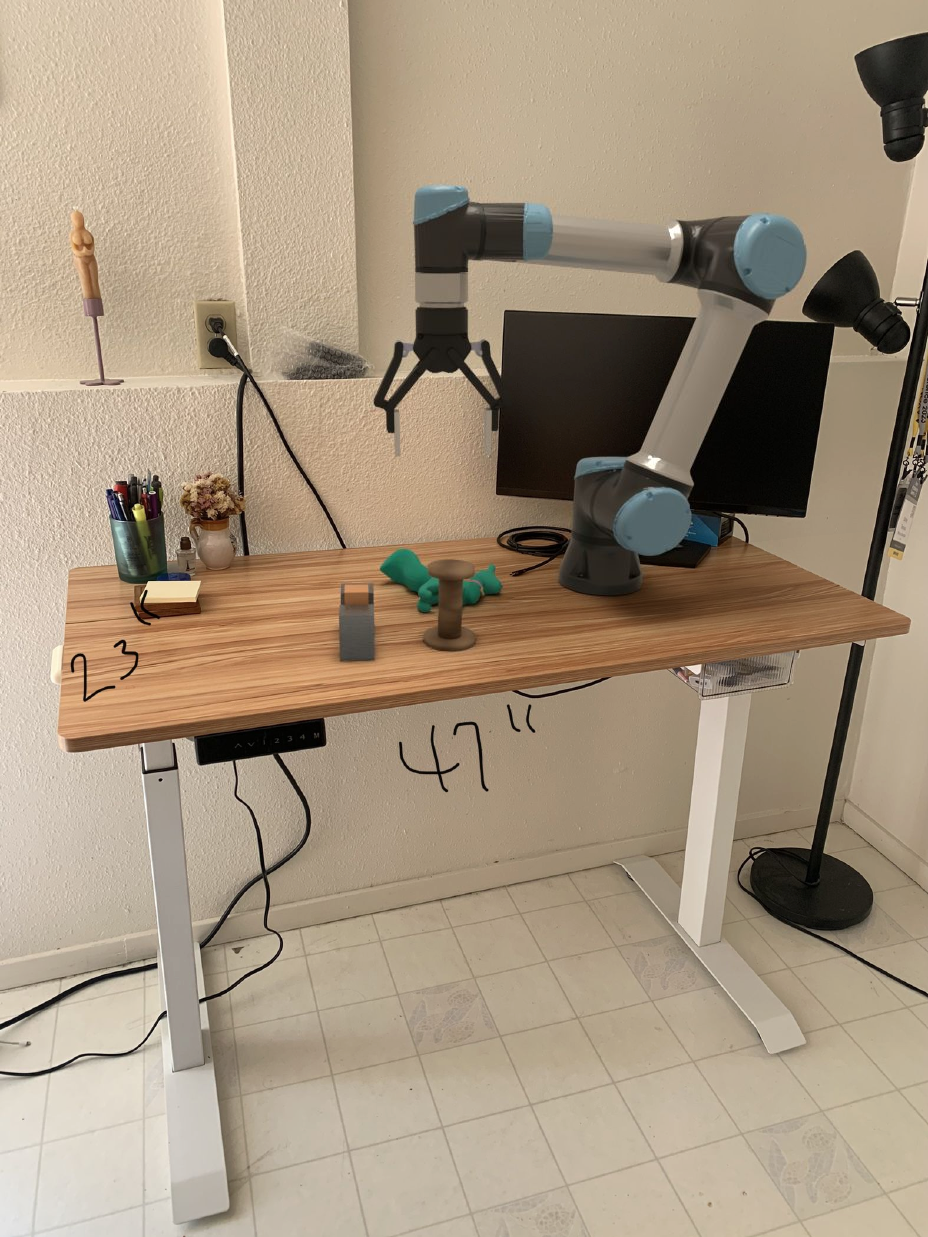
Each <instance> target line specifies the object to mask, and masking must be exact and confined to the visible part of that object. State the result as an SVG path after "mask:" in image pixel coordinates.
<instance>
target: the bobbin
mask: <svg viewBox="0 0 928 1237" xmlns="http://www.w3.org/2000/svg"><path fill="white" fill-rule="evenodd" d="M427 568H428V574H429V575H430V576H431V577H434V578H437V579H439V602H438V603H437V605H438V607H437V608H438V610H437V611H438V612H437V614H438V616H437V626H433V627H429V628H427V629H426V630H425V631H424V632H423V638H422V639H423V643H424V645H425V646H426V647H428V648H431V649H433V650H437V651H442V652H460V651H465V650H468V649H471V648H472V647H474V646H475V644H476V638H477V637H476V632H474V631H473V630H472V629H470V628H467V627H464V626H463V605H462V597H463V580H468V579H471V578H472V577H473V576H474V575H475V574H476V573H475V571H476V566H475V565H474V564H473V562H472V563H471V562H469V561H467V560H466V561H465V560H463V559H462V560H461V559H454V558H452V559H450V558H449V559H447V558H445V559H438V560H434V561H431V562H430V563H428V564H427Z"/></svg>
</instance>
